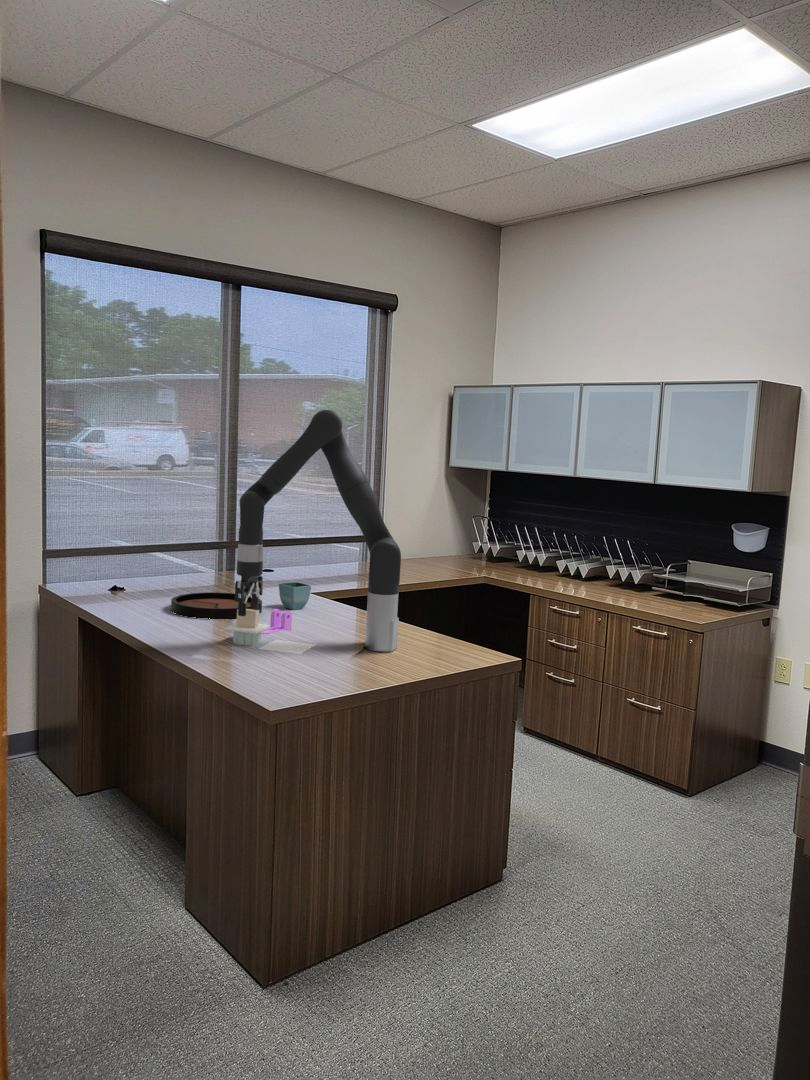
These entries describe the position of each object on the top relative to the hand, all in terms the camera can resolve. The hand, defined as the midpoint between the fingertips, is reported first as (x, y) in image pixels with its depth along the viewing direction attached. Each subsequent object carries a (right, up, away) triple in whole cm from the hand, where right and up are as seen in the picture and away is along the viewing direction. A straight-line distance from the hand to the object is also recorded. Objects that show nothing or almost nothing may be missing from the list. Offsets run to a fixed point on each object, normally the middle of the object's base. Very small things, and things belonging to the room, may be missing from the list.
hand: (248, 613), depth 251 cm
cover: (0, -5, 0) cm, 5 cm away
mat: (+12, -11, -2) cm, 16 cm away
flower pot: (+5, -4, +61) cm, 61 cm away
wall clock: (-20, -4, +49) cm, 53 cm away
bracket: (+4, -8, +19) cm, 21 cm away
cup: (-1, -10, +1) cm, 10 cm away
